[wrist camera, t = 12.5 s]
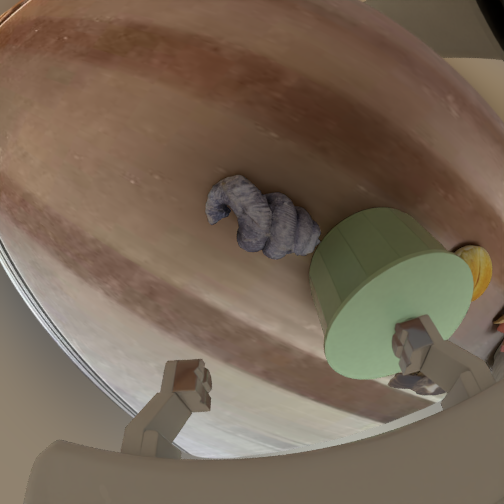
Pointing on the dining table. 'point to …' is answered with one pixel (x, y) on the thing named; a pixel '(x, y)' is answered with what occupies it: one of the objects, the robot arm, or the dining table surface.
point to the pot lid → (396, 310)
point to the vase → (498, 365)
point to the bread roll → (477, 267)
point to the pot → (361, 254)
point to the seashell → (263, 218)
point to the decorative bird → (416, 384)
